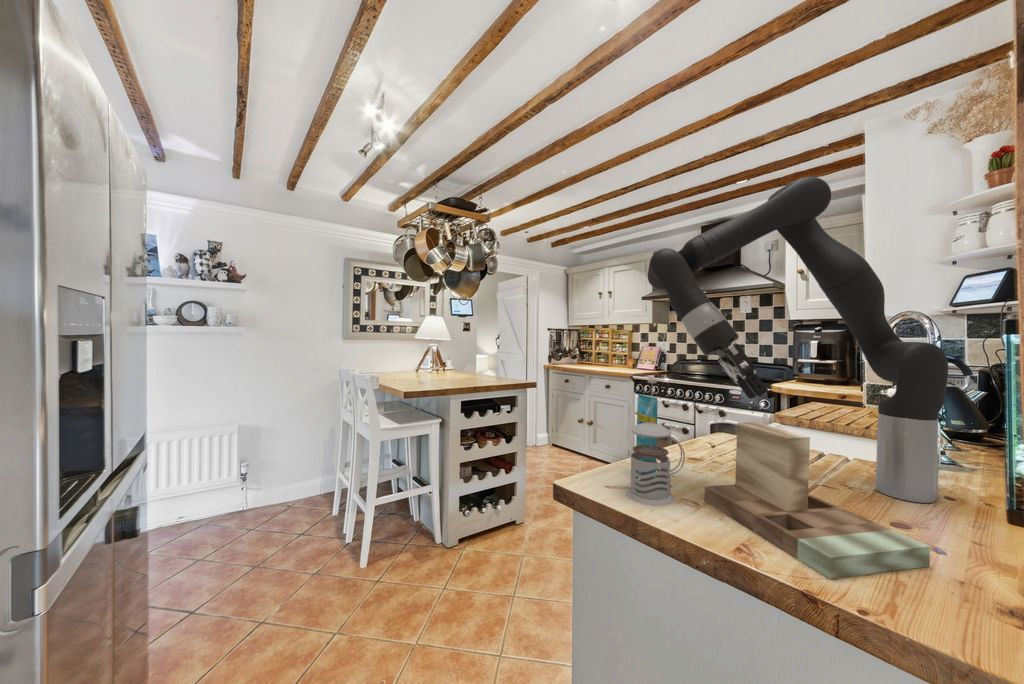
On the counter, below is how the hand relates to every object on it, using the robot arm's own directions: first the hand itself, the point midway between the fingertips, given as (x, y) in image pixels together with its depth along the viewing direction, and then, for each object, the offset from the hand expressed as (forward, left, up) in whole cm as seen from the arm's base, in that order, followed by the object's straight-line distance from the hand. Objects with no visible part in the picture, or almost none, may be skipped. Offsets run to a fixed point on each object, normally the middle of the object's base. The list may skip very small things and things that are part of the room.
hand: (758, 395), depth 78 cm
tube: (+12, -20, -22) cm, 32 cm away
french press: (+17, -8, -22) cm, 29 cm away
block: (-1, +2, -19) cm, 19 cm away
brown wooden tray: (-1, +9, -22) cm, 24 cm away
